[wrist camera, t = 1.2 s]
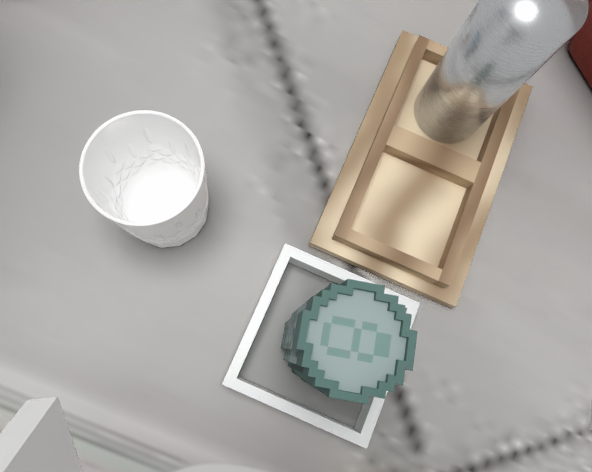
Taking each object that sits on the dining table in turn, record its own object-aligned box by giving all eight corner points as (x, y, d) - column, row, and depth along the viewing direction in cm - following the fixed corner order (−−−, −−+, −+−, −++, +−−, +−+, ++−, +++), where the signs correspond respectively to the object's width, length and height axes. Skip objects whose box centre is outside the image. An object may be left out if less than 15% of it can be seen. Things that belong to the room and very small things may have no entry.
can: (350, 388, 40) (407, 411, 25) (276, 374, 39) (289, 389, 25) (362, 312, 41) (422, 293, 26) (290, 298, 41) (310, 271, 26)
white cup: (235, 209, 42) (229, 167, 32) (165, 274, 40) (137, 251, 31) (170, 146, 43) (146, 87, 33) (99, 208, 41) (52, 165, 31)
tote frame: (223, 382, 39) (221, 384, 37) (283, 249, 42) (285, 243, 39) (359, 442, 39) (366, 449, 36) (410, 305, 42) (420, 303, 39)
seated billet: (403, 127, 44) (479, 16, 29) (426, 71, 45) (509, -61, 31) (466, 154, 44) (573, 57, 29) (487, 98, 45) (599, -22, 31)
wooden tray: (308, 245, 42) (312, 238, 39) (399, 38, 47) (407, 19, 44) (450, 308, 42) (463, 305, 39) (525, 93, 47) (541, 77, 44)
